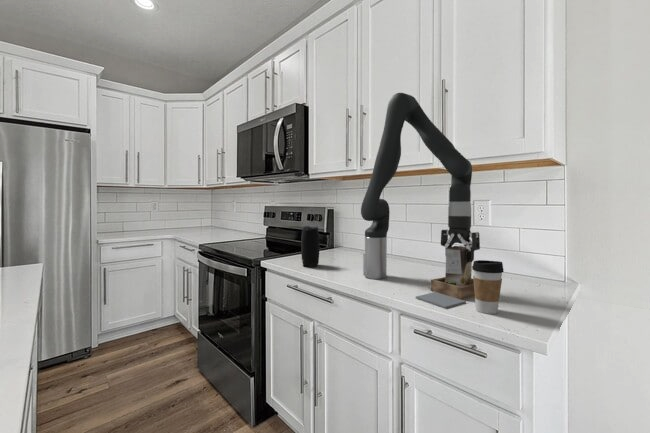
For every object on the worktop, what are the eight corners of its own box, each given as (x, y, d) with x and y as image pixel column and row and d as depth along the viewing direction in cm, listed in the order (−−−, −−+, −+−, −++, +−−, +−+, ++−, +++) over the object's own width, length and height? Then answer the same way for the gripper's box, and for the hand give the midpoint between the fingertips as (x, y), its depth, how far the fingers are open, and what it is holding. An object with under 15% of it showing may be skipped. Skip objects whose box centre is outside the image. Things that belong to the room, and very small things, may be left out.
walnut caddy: (430, 290, 118) (430, 279, 118) (456, 284, 126) (456, 274, 125) (460, 299, 108) (460, 288, 107) (486, 293, 115) (486, 281, 115)
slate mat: (415, 298, 110) (415, 296, 110) (435, 293, 115) (435, 291, 115) (445, 308, 99) (445, 306, 99) (465, 303, 105) (465, 301, 105)
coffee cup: (493, 317, 92) (495, 265, 91) (465, 309, 99) (466, 260, 98) (507, 311, 97) (509, 261, 96) (480, 304, 104) (481, 257, 103)
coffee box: (463, 296, 111) (464, 250, 110) (444, 293, 115) (445, 248, 114) (471, 290, 118) (472, 246, 117) (453, 287, 122) (454, 245, 121)
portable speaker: (321, 264, 164) (321, 226, 163) (314, 268, 156) (314, 227, 154) (306, 263, 167) (306, 225, 166) (298, 267, 159) (298, 227, 157)
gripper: (436, 214, 119) (435, 258, 120) (471, 215, 107) (470, 264, 108) (449, 213, 123) (449, 256, 124) (484, 214, 111) (484, 262, 111)
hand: (459, 260), depth 116 cm, fingers open, 8 cm apart
